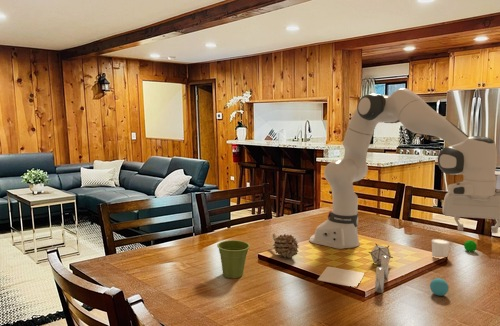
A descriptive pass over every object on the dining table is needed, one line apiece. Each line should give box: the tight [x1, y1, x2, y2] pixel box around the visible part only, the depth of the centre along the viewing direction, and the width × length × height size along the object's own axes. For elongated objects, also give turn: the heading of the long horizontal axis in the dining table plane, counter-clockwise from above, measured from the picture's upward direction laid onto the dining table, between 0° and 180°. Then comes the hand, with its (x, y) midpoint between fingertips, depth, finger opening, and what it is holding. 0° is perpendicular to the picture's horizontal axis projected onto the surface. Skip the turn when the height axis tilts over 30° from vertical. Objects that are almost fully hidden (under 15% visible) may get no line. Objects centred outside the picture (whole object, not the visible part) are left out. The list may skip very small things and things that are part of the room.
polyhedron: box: [463, 239, 478, 253], centre depth 174 cm, size 5×5×5 cm
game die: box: [368, 243, 394, 265], centre depth 157 cm, size 9×8×10 cm
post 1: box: [374, 266, 385, 294], centre depth 133 cm, size 3×3×8 cm
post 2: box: [380, 255, 390, 280], centre depth 144 cm, size 3×3×8 cm
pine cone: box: [272, 233, 300, 259], centre depth 167 cm, size 22×10×10 cm, turn 22°
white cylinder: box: [431, 238, 451, 258], centre depth 166 cm, size 7×7×7 cm
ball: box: [429, 277, 449, 297], centre depth 131 cm, size 6×6×6 cm
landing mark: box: [317, 266, 365, 288], centre depth 145 cm, size 14×14×1 cm
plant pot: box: [216, 239, 251, 279], centre depth 145 cm, size 12×12×11 cm
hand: (477, 231), depth 126 cm, fingers open, 8 cm apart
